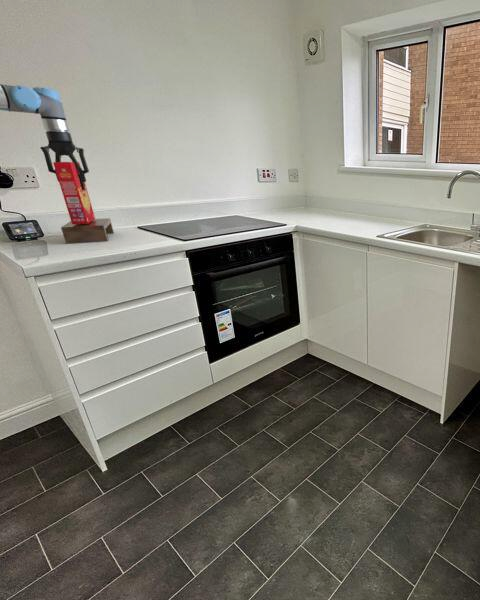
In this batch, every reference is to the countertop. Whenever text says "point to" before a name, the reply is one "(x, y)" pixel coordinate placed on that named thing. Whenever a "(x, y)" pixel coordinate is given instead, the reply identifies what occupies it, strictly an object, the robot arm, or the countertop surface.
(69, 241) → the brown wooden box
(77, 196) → the food packaging
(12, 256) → the countertop surface
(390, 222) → the countertop surface
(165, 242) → the countertop surface
